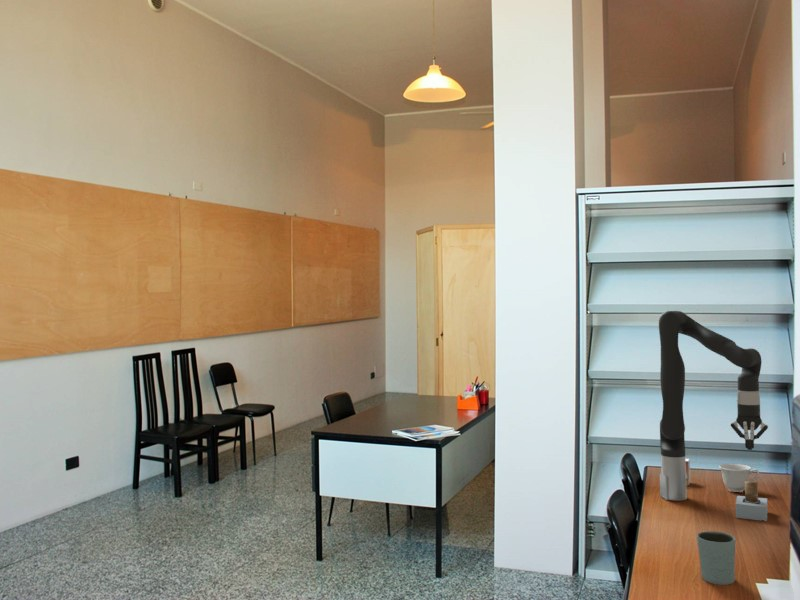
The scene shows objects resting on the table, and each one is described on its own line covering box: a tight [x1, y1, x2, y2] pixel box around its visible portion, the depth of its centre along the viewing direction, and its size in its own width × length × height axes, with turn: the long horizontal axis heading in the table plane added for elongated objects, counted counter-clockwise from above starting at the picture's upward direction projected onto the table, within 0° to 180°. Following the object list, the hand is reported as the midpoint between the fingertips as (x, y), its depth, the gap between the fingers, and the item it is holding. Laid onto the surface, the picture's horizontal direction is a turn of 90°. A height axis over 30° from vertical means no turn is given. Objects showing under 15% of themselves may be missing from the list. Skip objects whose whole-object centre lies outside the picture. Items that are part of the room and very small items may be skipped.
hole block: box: [735, 495, 769, 522], centre depth 255 cm, size 12×10×5 cm
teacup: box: [718, 463, 760, 493], centre depth 286 cm, size 12×15×10 cm
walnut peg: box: [744, 480, 759, 504], centre depth 255 cm, size 4×4×12 cm
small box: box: [685, 458, 691, 486], centre depth 302 cm, size 8×6×10 cm
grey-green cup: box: [696, 530, 736, 586], centre depth 197 cm, size 10×10×12 cm
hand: (749, 449), depth 257 cm, fingers closed
